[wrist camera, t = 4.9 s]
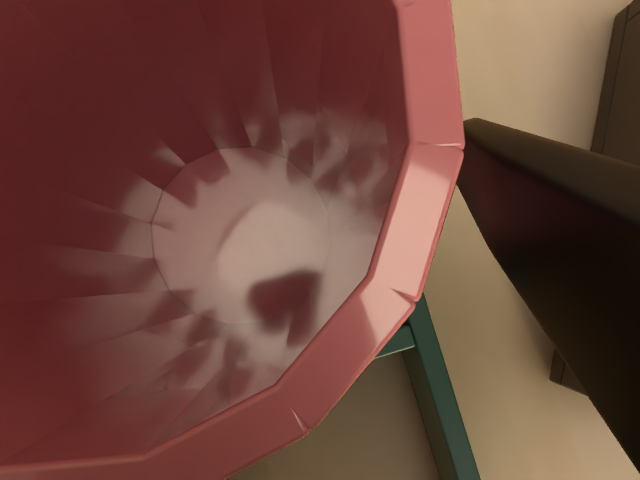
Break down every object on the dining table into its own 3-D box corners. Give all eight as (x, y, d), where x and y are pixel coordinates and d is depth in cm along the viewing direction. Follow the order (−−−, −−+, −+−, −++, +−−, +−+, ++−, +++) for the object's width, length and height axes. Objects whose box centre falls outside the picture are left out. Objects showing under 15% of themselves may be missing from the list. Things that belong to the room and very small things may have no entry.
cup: (252, 377, 17) (76, 717, 4) (101, 246, 17) (-573, 136, 4) (381, 225, 17) (623, 60, 4) (233, 99, 17) (27, -434, 4)
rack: (492, 585, 16) (534, 654, 13) (217, 678, 16) (197, 770, 13) (335, 70, 17) (342, 27, 14) (72, 143, 17) (23, 114, 14)
